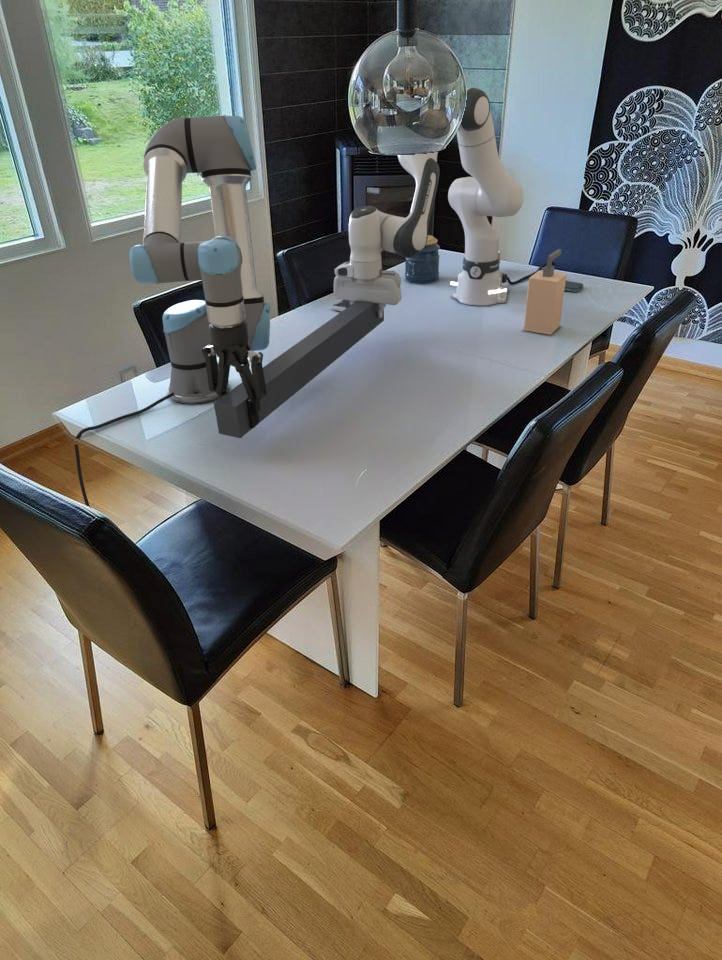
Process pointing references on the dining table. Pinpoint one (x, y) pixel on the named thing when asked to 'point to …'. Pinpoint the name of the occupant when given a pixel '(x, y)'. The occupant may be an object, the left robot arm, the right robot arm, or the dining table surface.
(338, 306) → the smartphone
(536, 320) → the soap dispenser
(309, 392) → the dining table surface
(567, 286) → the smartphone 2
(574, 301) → the dining table surface
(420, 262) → the canister
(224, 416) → the beam
